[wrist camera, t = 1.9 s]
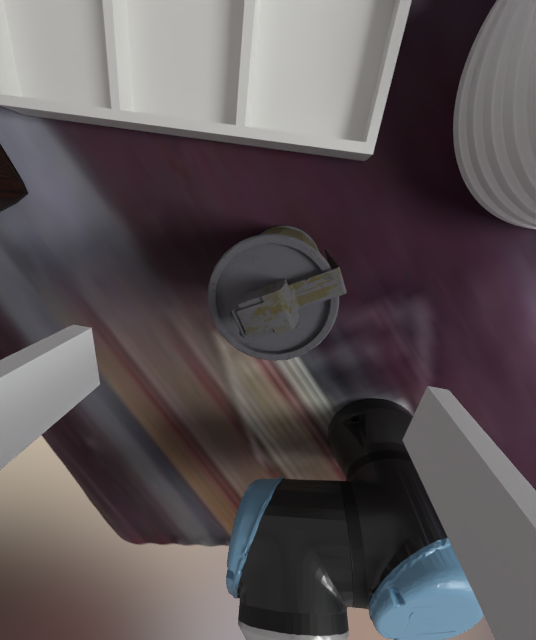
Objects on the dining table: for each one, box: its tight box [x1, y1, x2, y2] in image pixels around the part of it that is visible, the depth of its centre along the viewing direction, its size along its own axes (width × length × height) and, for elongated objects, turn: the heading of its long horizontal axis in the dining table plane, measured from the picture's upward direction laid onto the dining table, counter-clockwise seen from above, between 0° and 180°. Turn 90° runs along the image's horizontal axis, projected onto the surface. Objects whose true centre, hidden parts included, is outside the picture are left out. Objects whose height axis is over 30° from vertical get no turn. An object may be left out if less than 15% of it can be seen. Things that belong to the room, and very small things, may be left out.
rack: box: [0, 0, 412, 161], centre depth 27 cm, size 43×15×4 cm, turn 82°
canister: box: [208, 226, 347, 361], centre depth 27 cm, size 11×10×20 cm
